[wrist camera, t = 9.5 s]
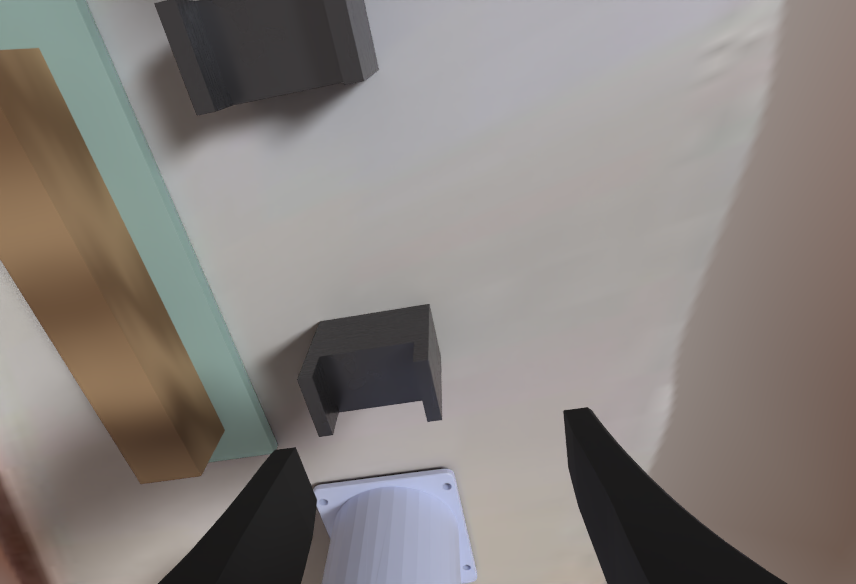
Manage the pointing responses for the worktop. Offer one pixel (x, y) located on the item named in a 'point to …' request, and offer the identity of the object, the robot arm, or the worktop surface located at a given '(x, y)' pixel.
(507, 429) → the worktop surface
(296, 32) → the post
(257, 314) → the worktop surface
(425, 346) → the post
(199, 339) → the mat
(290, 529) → the robot arm
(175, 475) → the rail
